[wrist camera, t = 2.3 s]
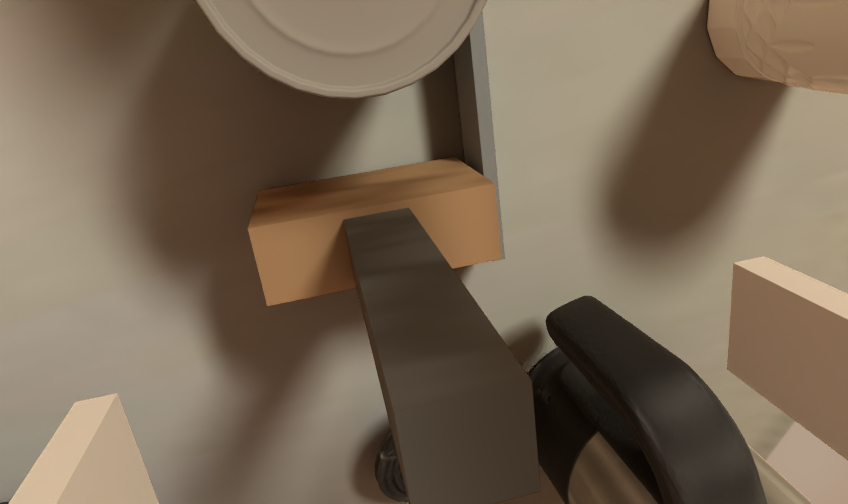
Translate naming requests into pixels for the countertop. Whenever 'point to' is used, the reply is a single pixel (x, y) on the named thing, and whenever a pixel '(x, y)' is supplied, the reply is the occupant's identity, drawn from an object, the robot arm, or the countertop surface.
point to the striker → (414, 316)
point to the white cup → (783, 41)
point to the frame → (477, 109)
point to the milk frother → (628, 423)
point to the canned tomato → (344, 40)
